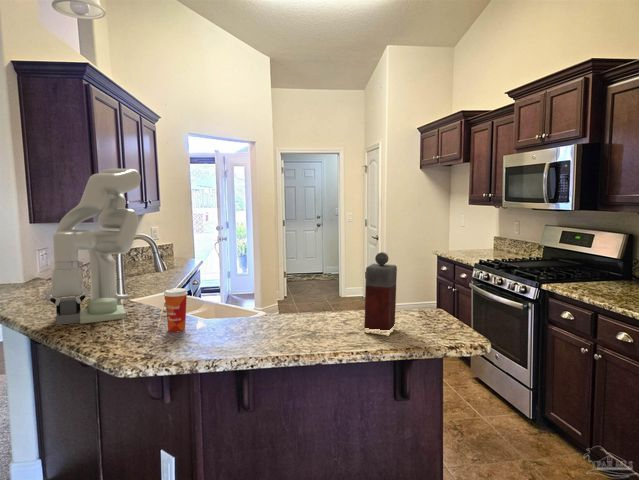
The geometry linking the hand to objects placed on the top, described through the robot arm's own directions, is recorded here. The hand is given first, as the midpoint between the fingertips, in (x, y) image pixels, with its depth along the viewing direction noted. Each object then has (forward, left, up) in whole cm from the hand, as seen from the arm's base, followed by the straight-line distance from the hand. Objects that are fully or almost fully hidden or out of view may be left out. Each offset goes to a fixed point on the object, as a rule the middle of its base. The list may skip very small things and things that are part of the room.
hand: (68, 313), depth 153 cm
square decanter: (-96, +63, -3) cm, 115 cm away
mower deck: (-7, 0, -2) cm, 8 cm away
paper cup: (-33, +30, -3) cm, 44 cm away
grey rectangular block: (0, 0, -1) cm, 1 cm away
